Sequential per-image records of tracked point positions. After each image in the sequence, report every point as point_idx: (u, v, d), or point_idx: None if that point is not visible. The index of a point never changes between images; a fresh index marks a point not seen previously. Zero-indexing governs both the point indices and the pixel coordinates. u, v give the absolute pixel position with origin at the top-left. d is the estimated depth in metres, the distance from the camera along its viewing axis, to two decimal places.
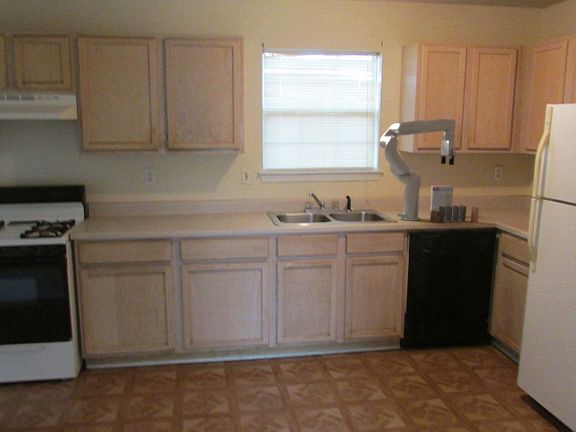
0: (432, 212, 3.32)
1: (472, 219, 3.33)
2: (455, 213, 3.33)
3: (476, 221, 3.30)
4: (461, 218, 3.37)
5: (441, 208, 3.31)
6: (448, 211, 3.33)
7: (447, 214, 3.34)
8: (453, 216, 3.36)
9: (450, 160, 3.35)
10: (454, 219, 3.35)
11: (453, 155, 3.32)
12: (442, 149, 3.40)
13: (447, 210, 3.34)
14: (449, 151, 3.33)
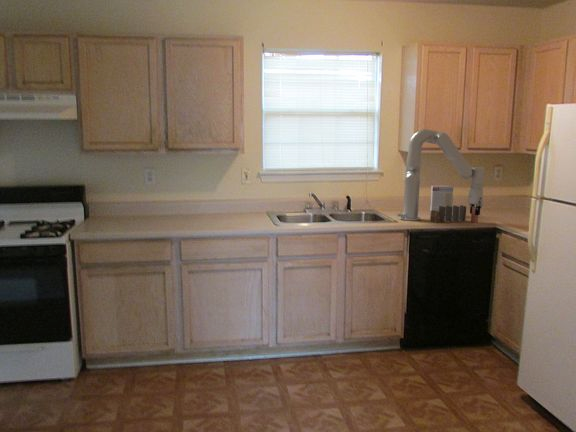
0: (432, 212, 3.32)
1: (472, 219, 3.33)
2: (455, 213, 3.33)
3: (476, 221, 3.30)
4: (461, 218, 3.37)
5: (441, 208, 3.31)
6: (448, 211, 3.33)
7: (447, 214, 3.34)
8: (453, 216, 3.36)
9: (476, 210, 3.28)
10: (454, 219, 3.35)
11: (479, 206, 3.25)
12: (470, 197, 3.31)
13: (447, 210, 3.34)
14: (477, 200, 3.25)
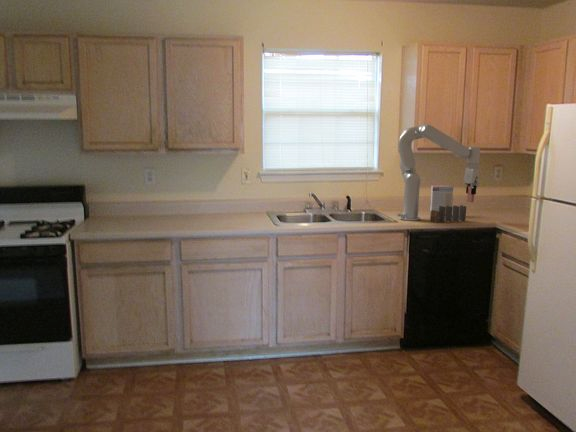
0: (432, 212, 3.32)
1: (468, 199, 3.36)
2: (455, 213, 3.33)
3: (472, 200, 3.33)
4: (461, 218, 3.37)
5: (441, 208, 3.31)
6: (448, 211, 3.33)
7: (447, 214, 3.34)
8: (453, 216, 3.36)
9: (472, 190, 3.31)
10: (454, 219, 3.35)
11: (475, 185, 3.28)
12: (466, 177, 3.35)
13: (447, 210, 3.34)
14: (473, 179, 3.28)
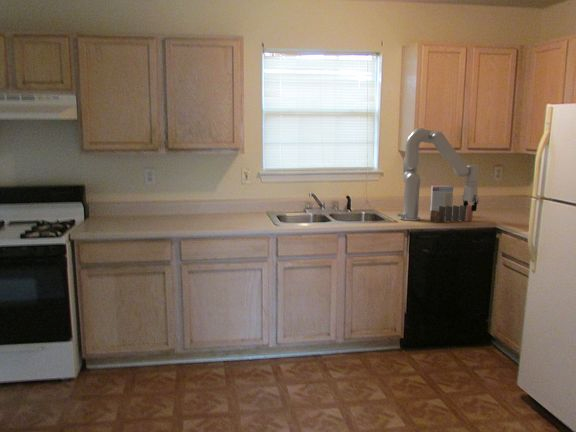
0: (432, 212, 3.32)
1: (467, 217, 3.38)
2: (455, 213, 3.33)
3: (471, 219, 3.35)
4: (461, 218, 3.37)
5: (441, 208, 3.31)
6: (448, 211, 3.33)
7: (447, 214, 3.34)
8: (453, 216, 3.36)
9: (473, 206, 3.31)
10: (454, 219, 3.35)
11: (476, 201, 3.28)
12: (464, 194, 3.37)
13: (447, 210, 3.34)
14: (472, 197, 3.30)
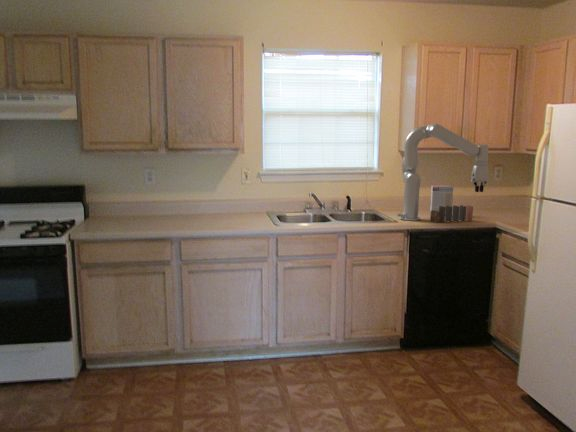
0: (432, 212, 3.32)
1: (467, 217, 3.38)
2: (455, 213, 3.33)
3: (471, 219, 3.35)
4: (461, 218, 3.37)
5: (441, 208, 3.31)
6: (448, 211, 3.33)
7: (447, 214, 3.34)
8: (453, 216, 3.36)
9: None
10: (454, 219, 3.35)
11: None
12: None
13: (447, 210, 3.34)
14: (471, 176, 3.35)
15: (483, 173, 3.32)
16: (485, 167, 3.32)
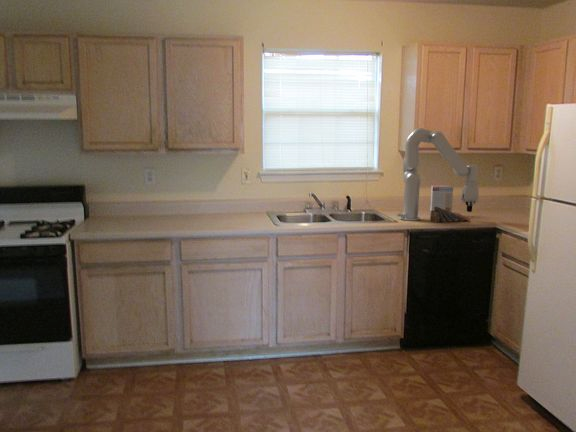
0: (432, 212, 3.32)
1: (464, 219, 3.38)
2: (448, 216, 3.33)
3: (468, 219, 3.35)
4: (458, 219, 3.36)
5: (436, 209, 3.31)
6: (442, 214, 3.32)
7: (443, 216, 3.33)
8: None
9: None
10: (452, 220, 3.35)
11: None
12: None
13: None
14: None
15: (473, 193, 3.33)
16: (475, 187, 3.32)
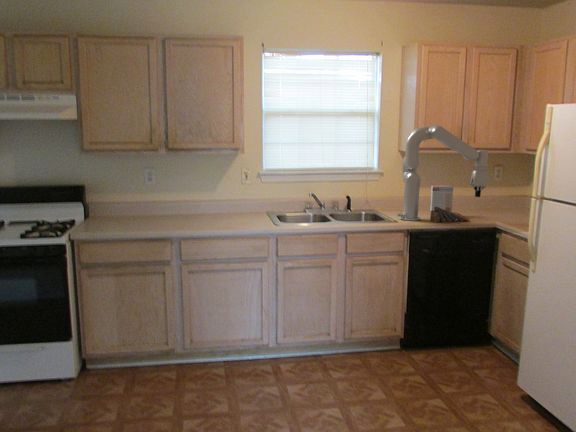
0: (432, 212, 3.32)
1: None
2: (448, 216, 3.33)
3: (468, 219, 3.35)
4: (458, 219, 3.36)
5: (436, 209, 3.31)
6: (442, 214, 3.32)
7: (443, 216, 3.33)
8: None
9: None
10: (452, 220, 3.35)
11: None
12: None
13: None
14: (470, 181, 3.36)
15: (482, 178, 3.33)
16: (484, 172, 3.32)
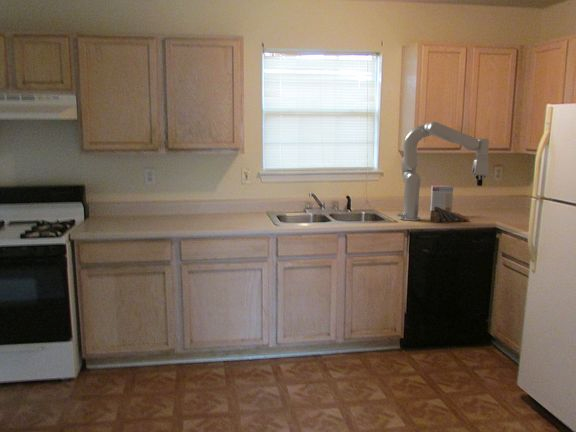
0: (432, 212, 3.32)
1: None
2: (448, 216, 3.33)
3: (468, 219, 3.35)
4: (458, 219, 3.36)
5: (436, 209, 3.31)
6: (442, 214, 3.32)
7: (443, 216, 3.33)
8: None
9: None
10: (452, 220, 3.35)
11: None
12: None
13: None
14: (472, 170, 3.34)
15: (484, 167, 3.31)
16: (485, 161, 3.31)
